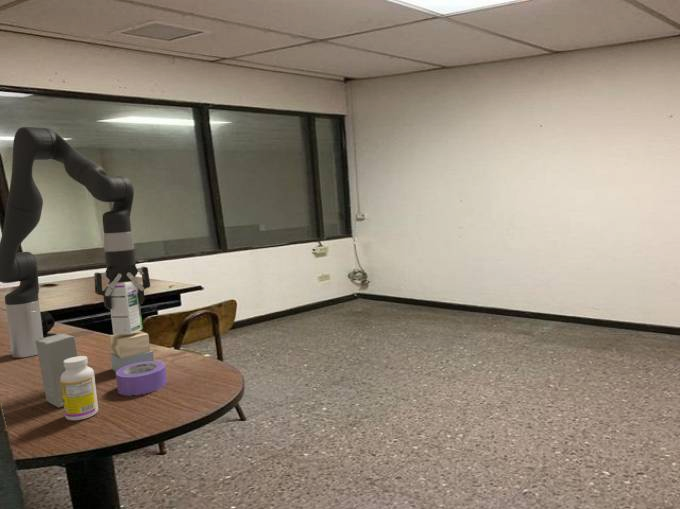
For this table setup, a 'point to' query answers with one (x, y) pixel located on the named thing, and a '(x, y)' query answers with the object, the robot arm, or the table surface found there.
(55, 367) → the skincare box
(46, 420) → the table surface
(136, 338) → the maple block
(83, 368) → the supplement bottle
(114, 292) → the syrup box
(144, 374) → the tape roll
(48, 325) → the webcam
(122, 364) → the slate slab
